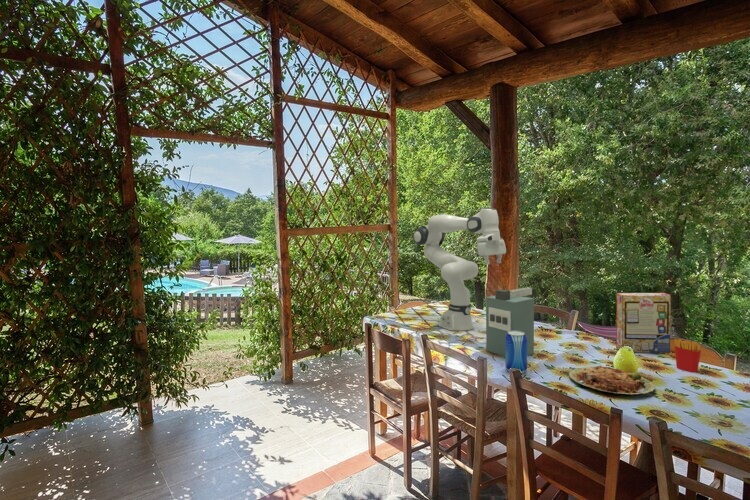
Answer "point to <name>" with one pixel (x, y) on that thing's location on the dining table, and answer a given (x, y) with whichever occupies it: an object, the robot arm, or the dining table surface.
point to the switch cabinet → (508, 322)
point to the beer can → (516, 351)
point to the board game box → (643, 322)
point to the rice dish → (611, 380)
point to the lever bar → (512, 293)
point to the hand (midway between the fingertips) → (493, 263)
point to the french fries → (687, 355)
